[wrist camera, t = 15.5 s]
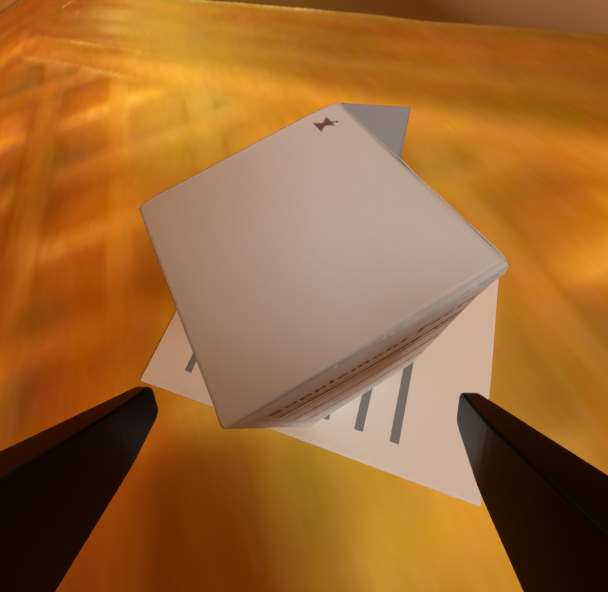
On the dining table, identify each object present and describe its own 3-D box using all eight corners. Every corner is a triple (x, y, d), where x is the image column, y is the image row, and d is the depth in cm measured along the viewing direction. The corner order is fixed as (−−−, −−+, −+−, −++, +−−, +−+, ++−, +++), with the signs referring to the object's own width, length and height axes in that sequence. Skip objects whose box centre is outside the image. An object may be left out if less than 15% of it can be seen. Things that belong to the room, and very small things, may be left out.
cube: (387, 211, 23) (397, 158, 19) (327, 202, 24) (322, 150, 20) (399, 165, 25) (410, 107, 21) (342, 159, 26) (341, 103, 22)
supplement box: (256, 327, 20) (129, 197, 9) (349, 275, 21) (342, 89, 9) (307, 432, 17) (211, 440, 6) (415, 367, 18) (527, 256, 6)
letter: (479, 506, 15) (480, 507, 15) (142, 380, 20) (140, 380, 20) (498, 269, 20) (499, 268, 20) (225, 219, 25) (224, 217, 25)
